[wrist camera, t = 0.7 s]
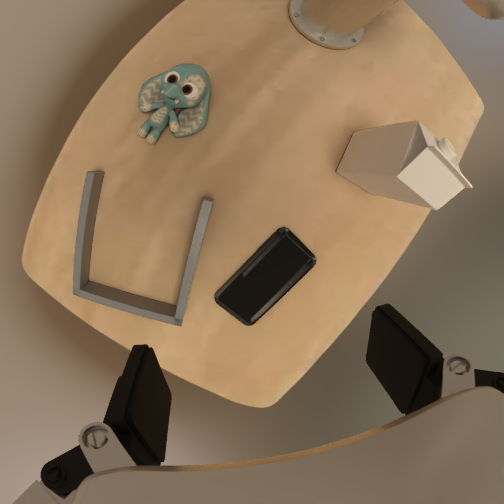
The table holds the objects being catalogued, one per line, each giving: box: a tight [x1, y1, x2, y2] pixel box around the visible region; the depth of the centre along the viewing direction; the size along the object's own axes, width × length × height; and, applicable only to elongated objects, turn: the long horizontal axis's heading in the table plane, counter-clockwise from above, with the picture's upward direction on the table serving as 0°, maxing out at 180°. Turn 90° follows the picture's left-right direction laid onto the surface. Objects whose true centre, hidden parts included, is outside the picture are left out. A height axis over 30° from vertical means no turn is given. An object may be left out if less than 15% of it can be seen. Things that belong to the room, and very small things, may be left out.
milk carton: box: [336, 121, 472, 210], centre depth 28 cm, size 7×7×19 cm
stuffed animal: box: [137, 64, 211, 144], centre depth 29 cm, size 11×7×12 cm
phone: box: [215, 227, 316, 326], centre depth 40 cm, size 8×1×15 cm
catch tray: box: [73, 171, 213, 326], centre depth 35 cm, size 18×17×4 cm
